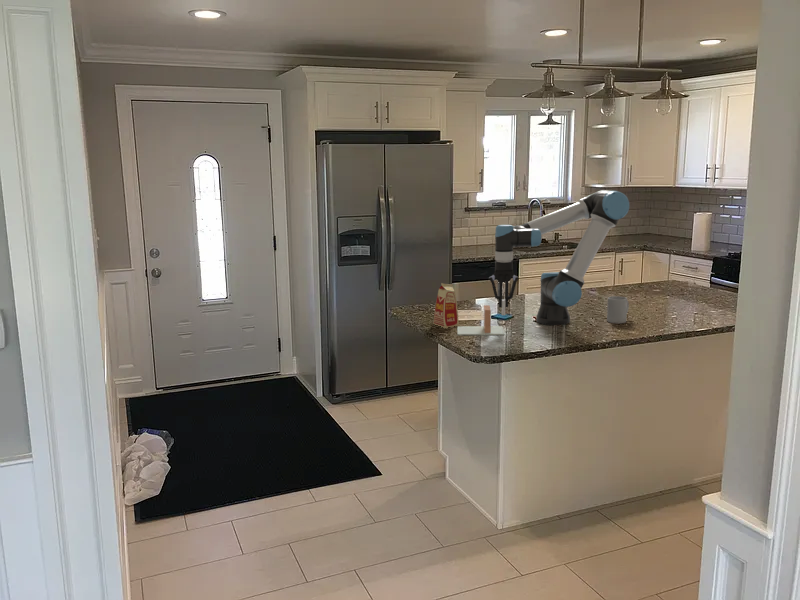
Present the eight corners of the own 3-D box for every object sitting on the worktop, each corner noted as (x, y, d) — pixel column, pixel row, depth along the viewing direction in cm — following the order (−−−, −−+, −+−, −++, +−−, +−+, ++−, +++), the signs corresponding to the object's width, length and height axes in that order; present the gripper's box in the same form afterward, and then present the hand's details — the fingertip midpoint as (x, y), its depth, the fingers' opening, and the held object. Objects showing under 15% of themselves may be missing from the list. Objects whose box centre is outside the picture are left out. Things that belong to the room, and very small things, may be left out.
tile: (489, 327, 303) (489, 305, 301) (490, 332, 293) (490, 310, 291) (483, 327, 303) (483, 305, 301) (484, 332, 293) (484, 310, 291)
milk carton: (445, 328, 305) (444, 284, 301) (432, 325, 313) (431, 282, 309) (460, 325, 311) (460, 282, 307) (447, 322, 318) (447, 279, 314)
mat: (502, 327, 305) (502, 326, 304) (504, 335, 291) (504, 333, 291) (457, 327, 306) (457, 326, 306) (457, 335, 293) (457, 333, 292)
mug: (618, 324, 305) (619, 300, 303) (602, 321, 312) (603, 297, 310) (635, 320, 312) (636, 297, 310) (619, 317, 319) (620, 294, 316)
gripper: (518, 259, 295) (517, 312, 299) (488, 259, 296) (487, 312, 300) (520, 262, 287) (519, 316, 292) (489, 262, 289) (488, 316, 293)
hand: (503, 314), depth 296 cm, fingers closed
